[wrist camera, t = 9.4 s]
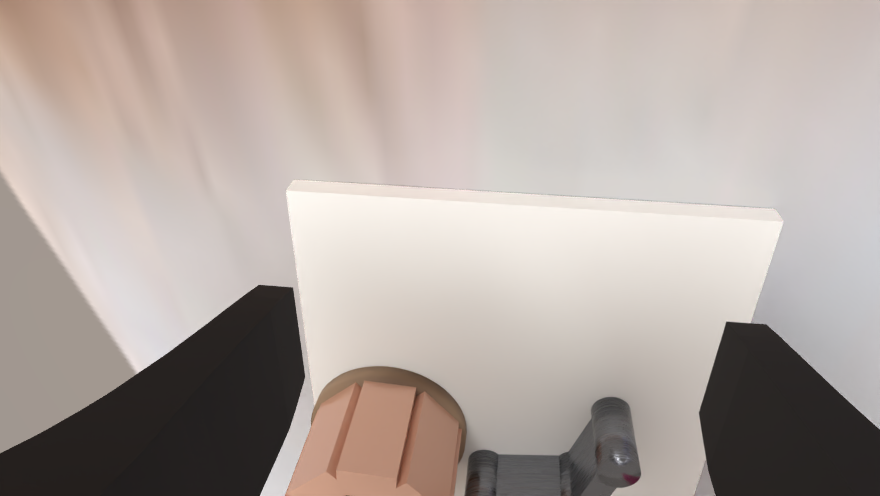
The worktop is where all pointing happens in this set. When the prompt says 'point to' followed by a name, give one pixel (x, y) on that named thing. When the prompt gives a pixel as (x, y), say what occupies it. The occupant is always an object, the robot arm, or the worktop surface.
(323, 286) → the board
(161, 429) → the robot arm
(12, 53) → the worktop surface
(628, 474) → the grey mechanical part
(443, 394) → the peg
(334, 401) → the ring
